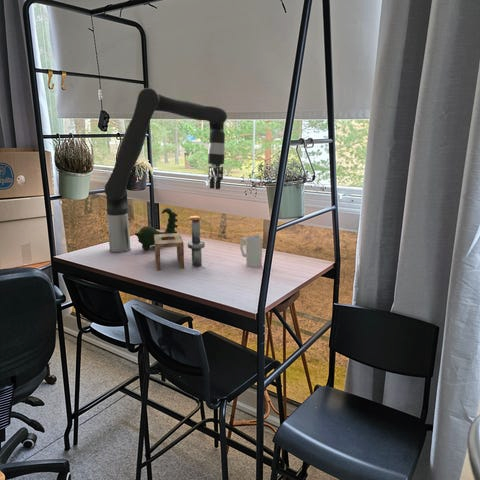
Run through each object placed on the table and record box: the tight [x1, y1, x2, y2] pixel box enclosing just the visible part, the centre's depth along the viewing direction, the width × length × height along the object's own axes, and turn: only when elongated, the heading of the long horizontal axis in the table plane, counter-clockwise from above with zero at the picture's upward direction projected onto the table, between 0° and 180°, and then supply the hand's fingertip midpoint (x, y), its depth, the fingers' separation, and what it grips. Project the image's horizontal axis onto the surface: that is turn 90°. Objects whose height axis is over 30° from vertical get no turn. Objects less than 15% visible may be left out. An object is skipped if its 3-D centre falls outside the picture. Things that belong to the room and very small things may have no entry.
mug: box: [239, 234, 263, 268], centre depth 177 cm, size 10×7×12 cm, turn 56°
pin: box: [187, 215, 206, 268], centre depth 175 cm, size 7×7×20 cm
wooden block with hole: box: [154, 232, 185, 271], centre depth 178 cm, size 11×16×11 cm
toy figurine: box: [134, 207, 179, 251], centre depth 203 cm, size 9×19×25 cm
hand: (214, 188), depth 199 cm, fingers open, 8 cm apart
